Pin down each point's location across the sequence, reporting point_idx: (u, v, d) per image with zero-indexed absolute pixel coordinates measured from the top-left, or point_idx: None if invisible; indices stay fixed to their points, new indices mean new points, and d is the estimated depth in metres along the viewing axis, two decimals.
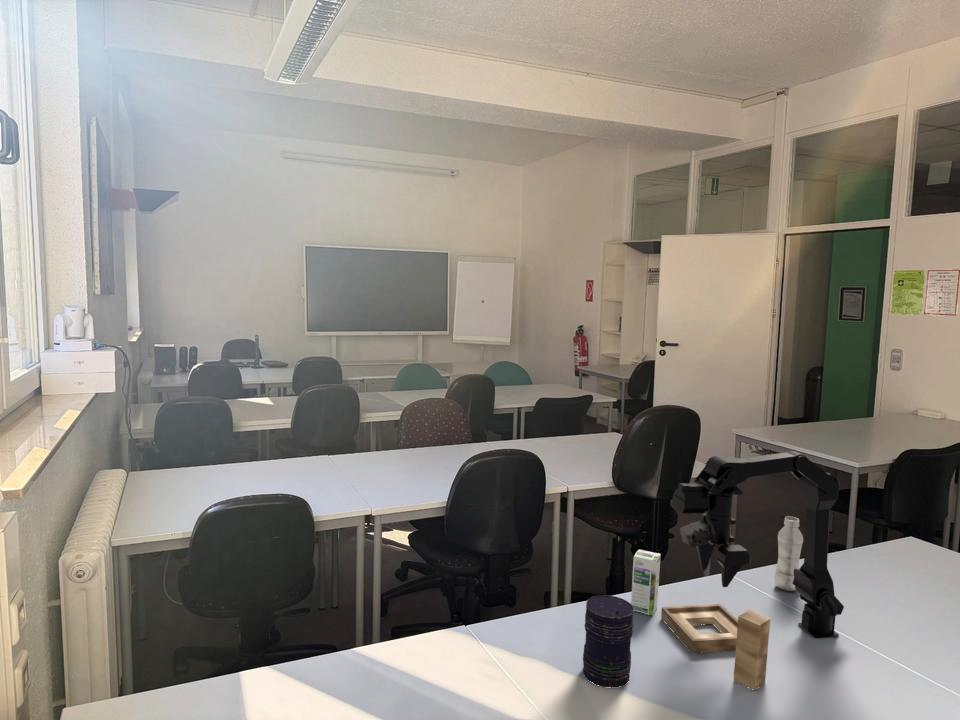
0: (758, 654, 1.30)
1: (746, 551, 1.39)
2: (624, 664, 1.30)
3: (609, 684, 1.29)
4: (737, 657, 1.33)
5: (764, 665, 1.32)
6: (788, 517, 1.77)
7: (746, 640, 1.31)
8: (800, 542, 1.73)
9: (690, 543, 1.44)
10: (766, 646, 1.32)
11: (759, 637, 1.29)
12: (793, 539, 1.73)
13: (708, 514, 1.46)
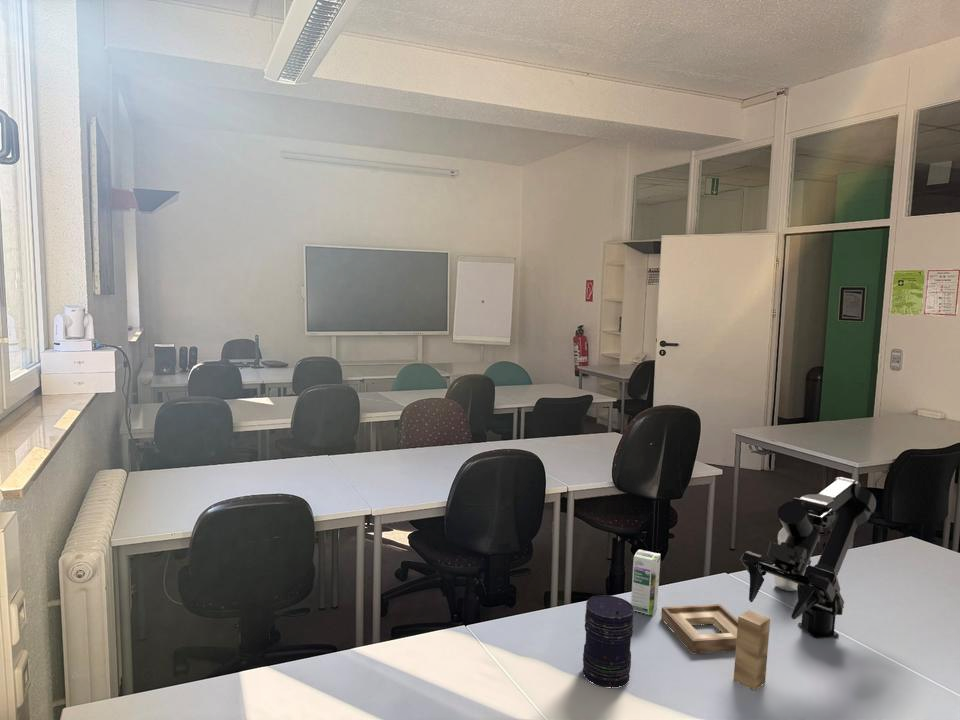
0: (758, 654, 1.30)
1: None
2: (624, 664, 1.30)
3: (609, 684, 1.29)
4: (737, 657, 1.33)
5: (764, 665, 1.32)
6: None
7: (746, 640, 1.31)
8: None
9: (787, 557, 1.35)
10: (766, 646, 1.32)
11: (759, 637, 1.29)
12: None
13: (797, 542, 1.41)
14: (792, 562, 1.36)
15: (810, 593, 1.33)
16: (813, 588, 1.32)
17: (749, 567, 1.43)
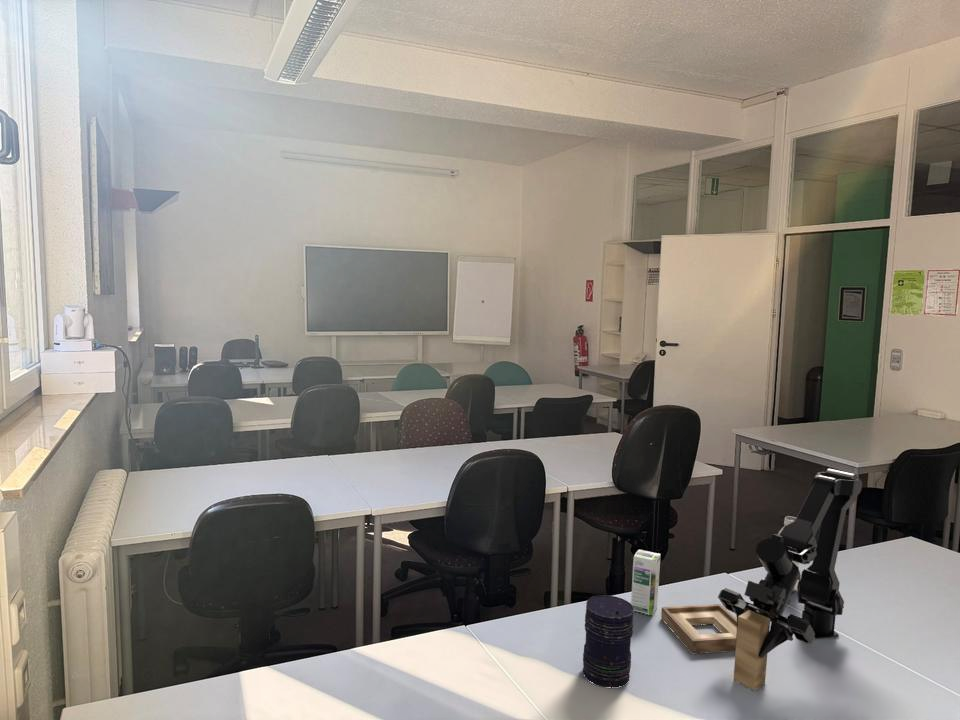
0: (758, 654, 1.30)
1: None
2: (624, 664, 1.30)
3: (609, 684, 1.29)
4: (737, 657, 1.33)
5: (764, 665, 1.32)
6: (788, 517, 1.77)
7: (746, 640, 1.31)
8: None
9: (765, 597, 1.30)
10: None
11: (759, 637, 1.29)
12: None
13: (776, 581, 1.36)
14: (770, 602, 1.31)
15: (778, 631, 1.29)
16: (781, 626, 1.29)
17: (736, 609, 1.36)
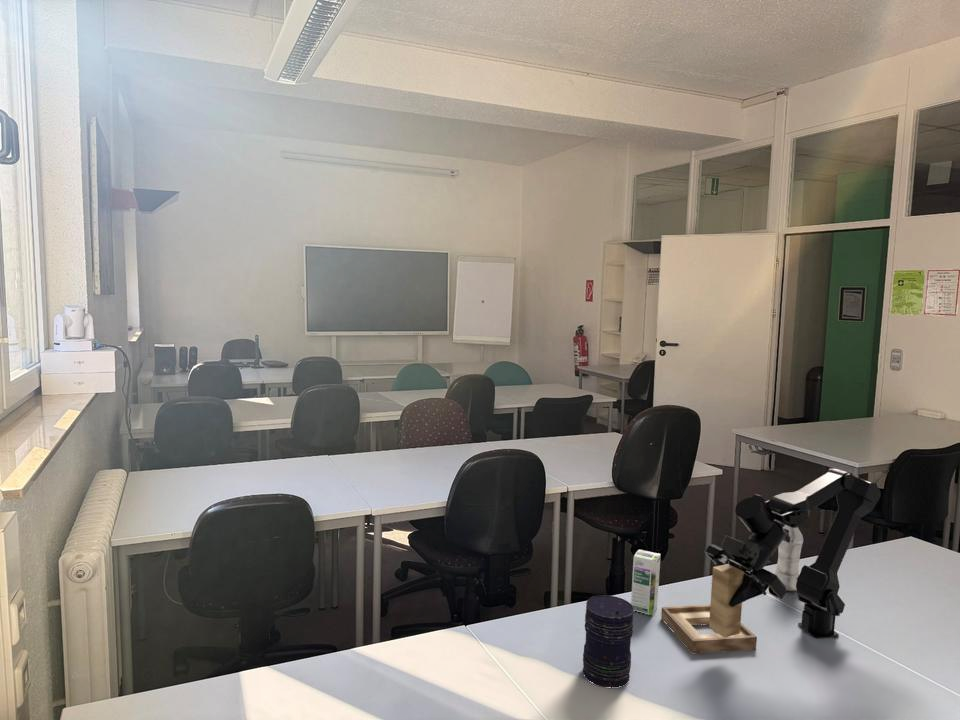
0: (728, 603, 1.38)
1: (784, 586, 1.35)
2: (624, 664, 1.30)
3: (609, 684, 1.29)
4: (712, 605, 1.41)
5: (737, 615, 1.39)
6: None
7: (719, 589, 1.39)
8: (800, 542, 1.73)
9: (736, 550, 1.37)
10: None
11: (729, 587, 1.37)
12: (793, 539, 1.73)
13: (757, 539, 1.42)
14: (743, 556, 1.38)
15: (748, 583, 1.37)
16: (750, 578, 1.36)
17: (717, 563, 1.44)
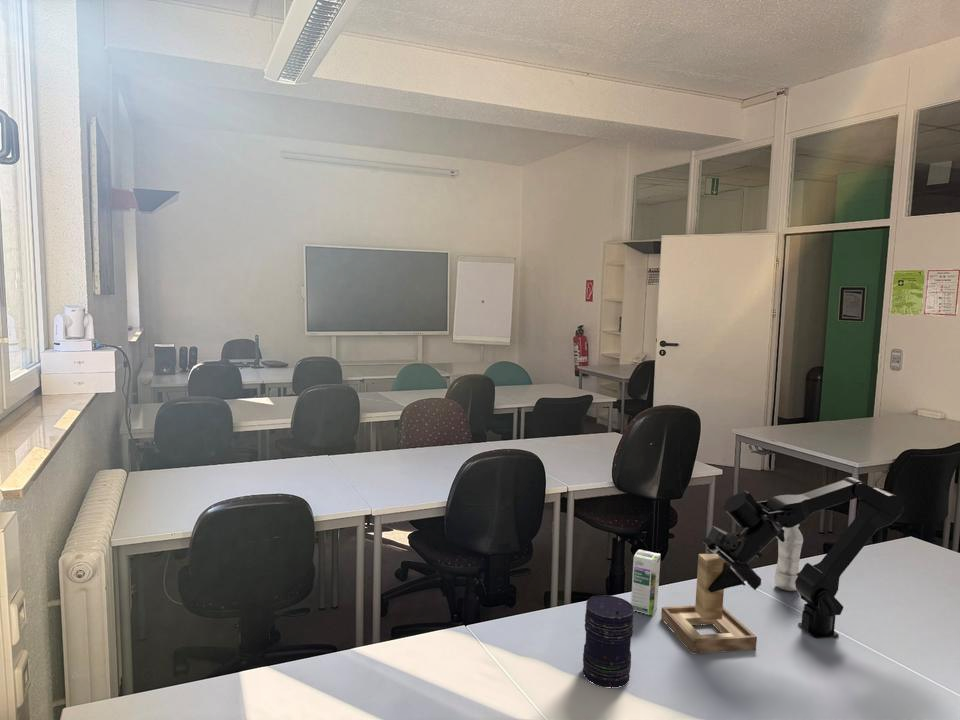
0: (707, 588, 1.48)
1: (760, 578, 1.42)
2: (624, 664, 1.30)
3: (609, 684, 1.29)
4: (697, 590, 1.53)
5: (718, 601, 1.49)
6: None
7: (701, 575, 1.50)
8: (800, 542, 1.73)
9: (716, 540, 1.48)
10: None
11: (708, 573, 1.48)
12: (793, 539, 1.73)
13: (745, 533, 1.50)
14: (724, 546, 1.48)
15: (726, 571, 1.46)
16: (727, 567, 1.45)
17: (708, 552, 1.55)
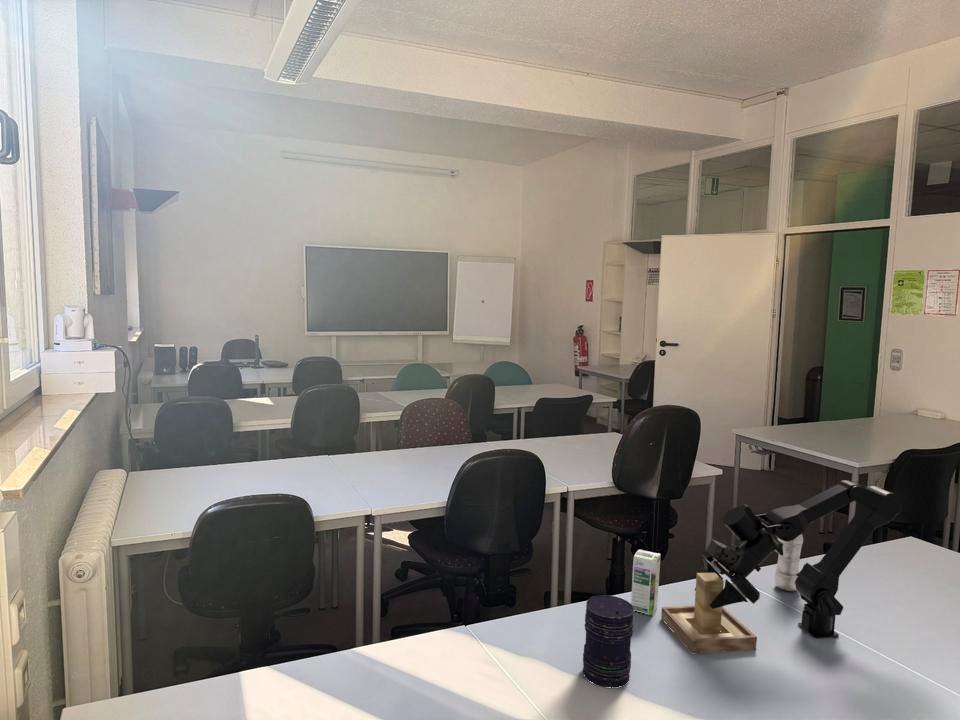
0: (705, 607, 1.49)
1: (758, 592, 1.43)
2: (624, 664, 1.30)
3: (609, 684, 1.29)
4: (695, 609, 1.53)
5: (716, 620, 1.49)
6: None
7: (699, 594, 1.51)
8: (800, 542, 1.73)
9: (715, 553, 1.48)
10: None
11: (706, 593, 1.48)
12: None
13: (744, 547, 1.50)
14: (723, 560, 1.48)
15: (728, 588, 1.45)
16: (729, 584, 1.44)
17: (704, 562, 1.57)
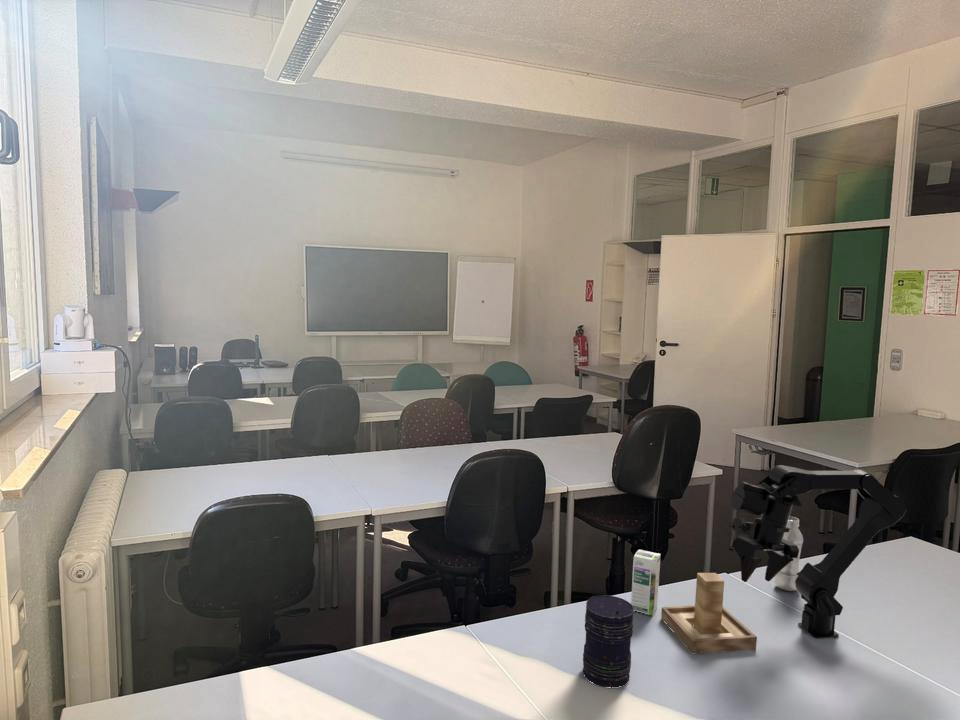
0: (705, 607, 1.49)
1: (751, 544, 1.46)
2: (624, 664, 1.30)
3: (609, 684, 1.29)
4: (695, 609, 1.53)
5: (716, 620, 1.49)
6: None
7: (699, 594, 1.51)
8: (800, 542, 1.73)
9: None
10: (719, 605, 1.49)
11: (707, 593, 1.48)
12: (793, 539, 1.73)
13: None
14: (741, 533, 1.55)
15: None
16: None
17: None
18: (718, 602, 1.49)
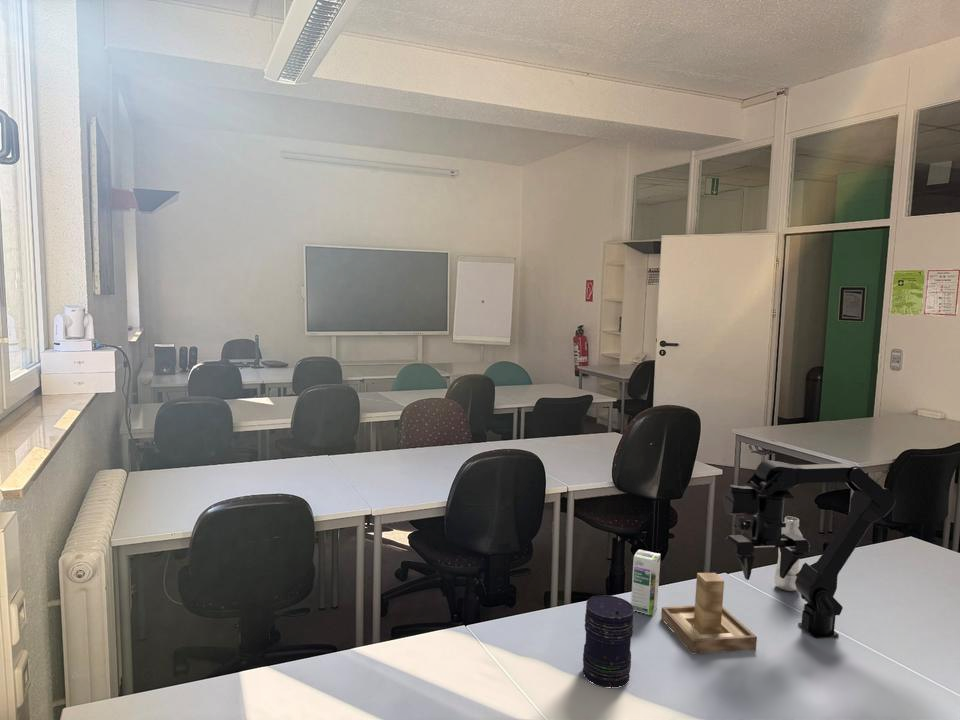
0: (705, 607, 1.49)
1: (737, 542, 1.49)
2: (624, 664, 1.30)
3: (609, 684, 1.29)
4: (695, 609, 1.53)
5: (716, 620, 1.49)
6: (788, 517, 1.77)
7: (699, 594, 1.51)
8: None
9: None
10: (719, 605, 1.49)
11: (707, 593, 1.49)
12: None
13: None
14: (745, 531, 1.57)
15: None
16: None
17: None
18: (718, 602, 1.49)
